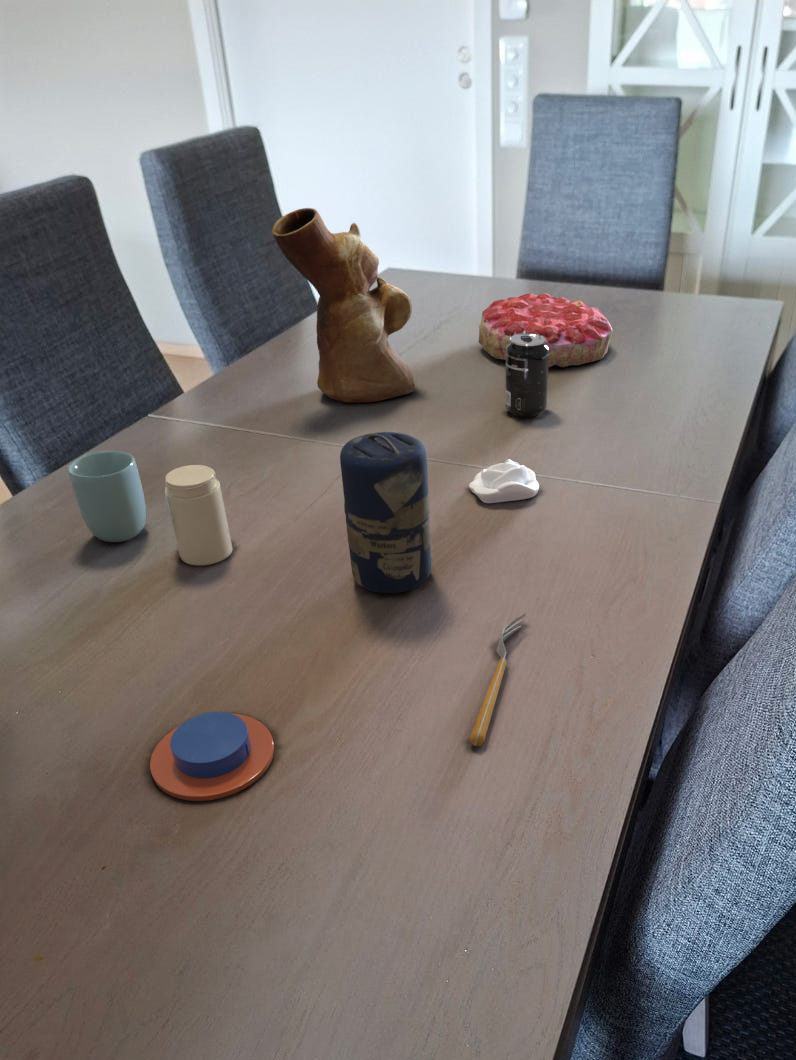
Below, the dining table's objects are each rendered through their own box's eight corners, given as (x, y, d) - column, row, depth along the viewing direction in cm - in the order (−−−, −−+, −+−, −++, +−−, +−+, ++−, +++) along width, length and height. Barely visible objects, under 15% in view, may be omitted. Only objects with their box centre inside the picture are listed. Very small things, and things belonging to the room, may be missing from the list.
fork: (489, 738, 82) (526, 611, 98) (469, 732, 82) (510, 606, 98) (482, 756, 84) (520, 628, 99) (464, 750, 84) (504, 623, 99)
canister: (366, 607, 102) (351, 461, 92) (342, 567, 109) (326, 427, 99) (444, 588, 105) (439, 445, 95) (416, 550, 112) (408, 413, 102)
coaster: (146, 810, 77) (144, 805, 77) (156, 726, 86) (155, 721, 86) (275, 790, 79) (274, 785, 79) (273, 710, 88) (272, 705, 88)
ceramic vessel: (432, 394, 155) (424, 204, 137) (316, 424, 145) (292, 223, 127) (386, 368, 165) (373, 189, 148) (276, 394, 155) (248, 205, 138)
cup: (106, 518, 120) (86, 448, 114) (162, 521, 119) (145, 451, 113) (77, 547, 114) (55, 475, 108) (136, 551, 113) (116, 479, 107)
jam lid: (261, 730, 85) (258, 715, 84) (235, 782, 79) (232, 766, 78) (192, 723, 86) (188, 708, 84) (162, 774, 80) (157, 759, 79)
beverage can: (537, 401, 152) (540, 330, 145) (552, 416, 146) (556, 343, 139) (499, 406, 150) (499, 334, 143) (513, 422, 145) (514, 347, 138)
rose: (513, 484, 117) (453, 466, 122) (512, 515, 120) (454, 495, 124) (553, 457, 124) (495, 440, 128) (552, 486, 126) (495, 469, 131)
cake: (471, 324, 182) (473, 284, 177) (592, 324, 185) (597, 285, 180) (485, 375, 163) (487, 331, 158) (619, 374, 166) (626, 332, 161)
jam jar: (178, 568, 109) (159, 489, 103) (181, 542, 114) (163, 465, 108) (232, 562, 110) (216, 484, 104) (233, 536, 116) (218, 460, 109)
